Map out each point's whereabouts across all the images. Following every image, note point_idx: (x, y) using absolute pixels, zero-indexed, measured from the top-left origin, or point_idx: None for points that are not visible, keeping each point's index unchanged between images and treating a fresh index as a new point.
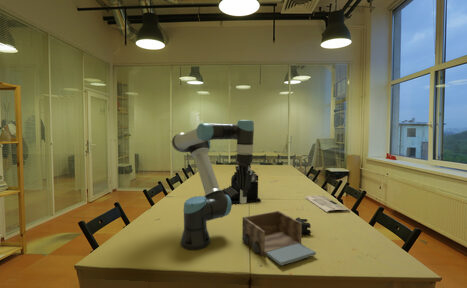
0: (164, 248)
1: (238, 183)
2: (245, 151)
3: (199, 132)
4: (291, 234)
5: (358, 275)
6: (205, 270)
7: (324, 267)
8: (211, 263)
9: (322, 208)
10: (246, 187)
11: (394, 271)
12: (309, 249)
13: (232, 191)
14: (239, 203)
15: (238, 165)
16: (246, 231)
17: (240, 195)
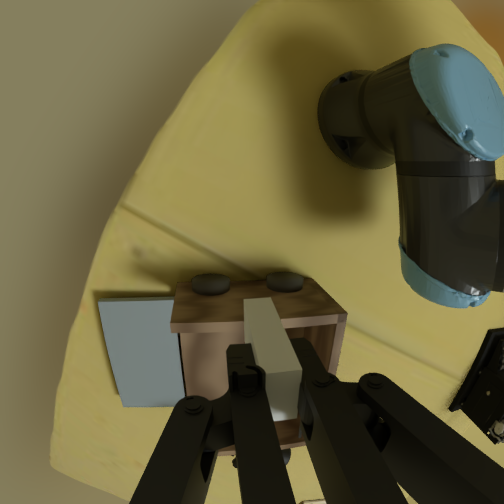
0: (365, 35)
1: (379, 402)
2: None
3: None
4: None
5: (55, 408)
6: (191, 83)
7: (86, 383)
8: (218, 111)
9: (322, 501)
10: (169, 430)
11: (62, 450)
12: (140, 404)
13: None
14: (477, 357)
15: None
16: (296, 295)
17: (277, 331)
